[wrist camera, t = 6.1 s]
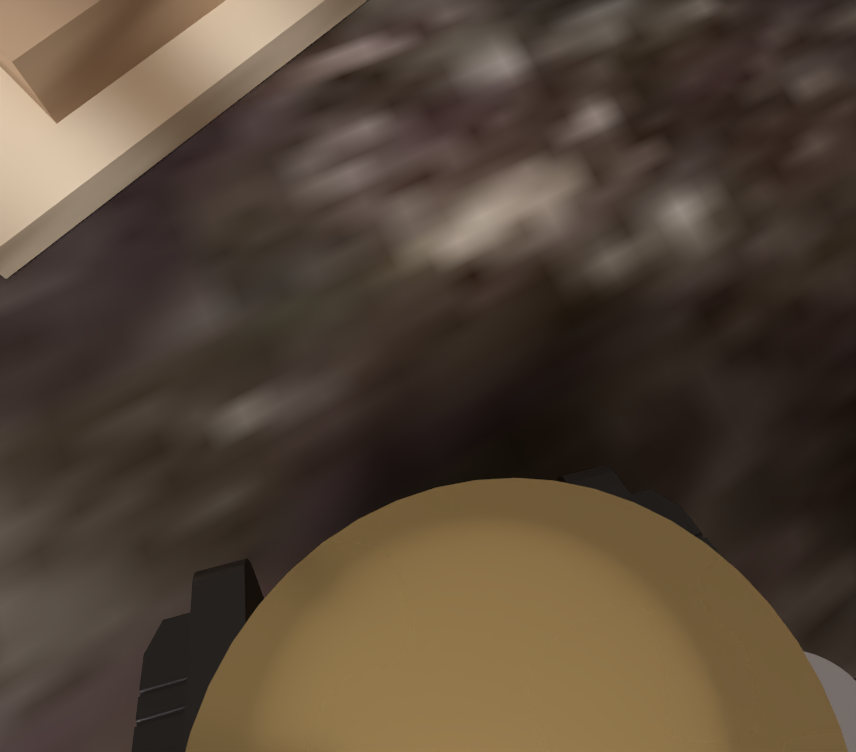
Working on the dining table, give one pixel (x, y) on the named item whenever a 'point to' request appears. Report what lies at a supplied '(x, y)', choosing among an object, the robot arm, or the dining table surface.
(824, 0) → the dining table surface
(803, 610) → the dining table surface
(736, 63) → the dining table surface
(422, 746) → the cylinder
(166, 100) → the shaft bench
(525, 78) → the dining table surface
